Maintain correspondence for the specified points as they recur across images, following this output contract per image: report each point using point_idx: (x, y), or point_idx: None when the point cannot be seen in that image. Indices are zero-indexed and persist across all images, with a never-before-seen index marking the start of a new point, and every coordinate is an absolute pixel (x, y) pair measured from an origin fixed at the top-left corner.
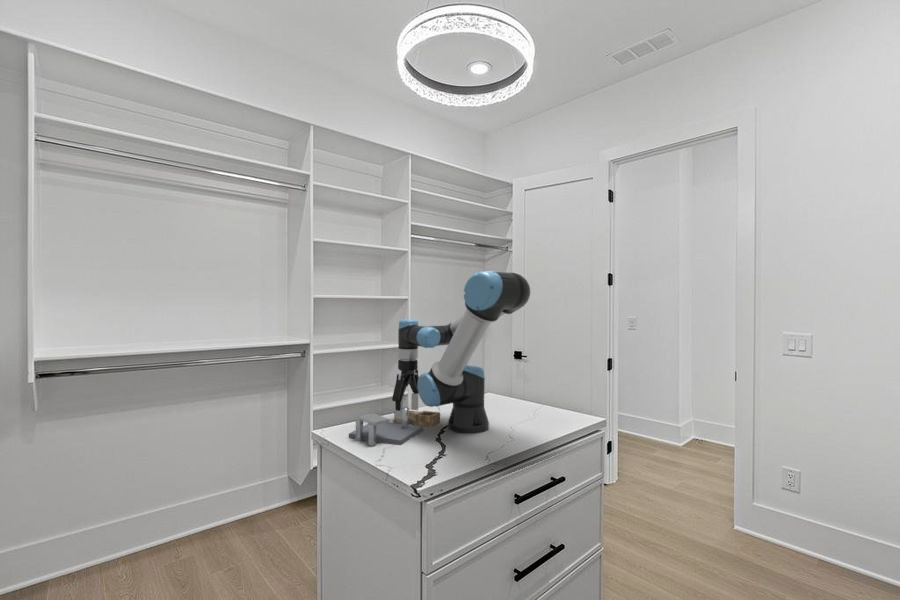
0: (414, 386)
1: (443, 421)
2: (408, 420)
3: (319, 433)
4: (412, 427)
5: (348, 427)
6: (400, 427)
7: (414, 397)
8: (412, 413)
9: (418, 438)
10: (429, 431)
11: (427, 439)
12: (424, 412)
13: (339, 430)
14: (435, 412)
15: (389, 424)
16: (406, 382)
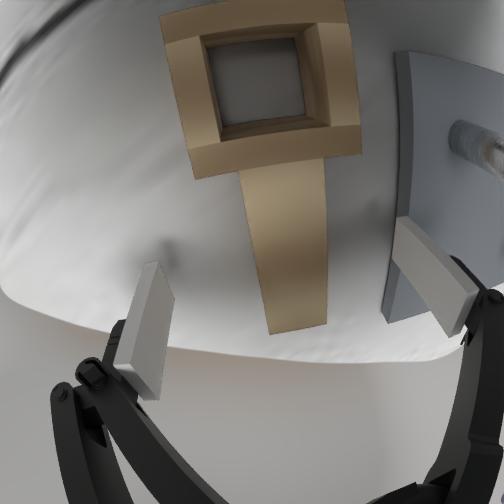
0: (176, 460)
1: (121, 48)
2: (492, 131)
3: (462, 344)
4: (447, 103)
5: (415, 343)
6: (460, 165)
7: (151, 355)
8: (325, 205)
9: (477, 42)
10: (377, 14)
11: (468, 3)
12: (236, 138)
13: (442, 336)
14: (183, 47)
15: None
16: (490, 475)
